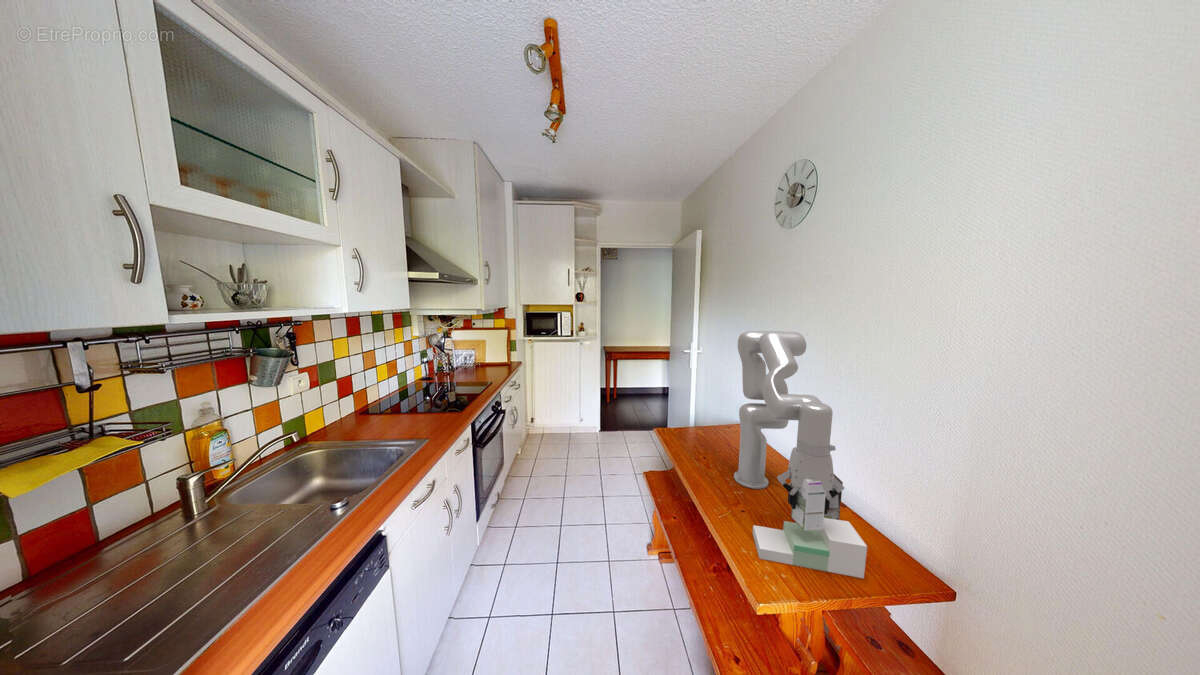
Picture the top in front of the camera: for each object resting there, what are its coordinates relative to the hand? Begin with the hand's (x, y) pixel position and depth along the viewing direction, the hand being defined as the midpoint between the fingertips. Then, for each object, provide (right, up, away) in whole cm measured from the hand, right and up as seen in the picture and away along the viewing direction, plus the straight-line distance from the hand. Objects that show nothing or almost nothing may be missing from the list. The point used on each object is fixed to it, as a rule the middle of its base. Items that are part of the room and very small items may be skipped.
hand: (807, 508), depth 92 cm
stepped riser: (0, -14, +2) cm, 14 cm away
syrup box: (0, -5, 0) cm, 5 cm away
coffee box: (+15, -13, +16) cm, 25 cm away
